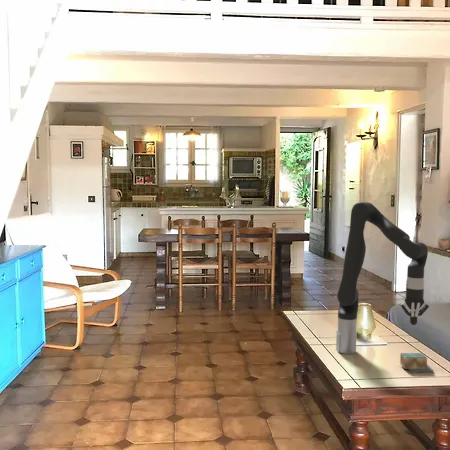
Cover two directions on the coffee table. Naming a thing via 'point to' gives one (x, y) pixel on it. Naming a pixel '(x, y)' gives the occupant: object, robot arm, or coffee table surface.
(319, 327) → the coffee table surface
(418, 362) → the oak block
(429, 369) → the rubber pad
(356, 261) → the robot arm
